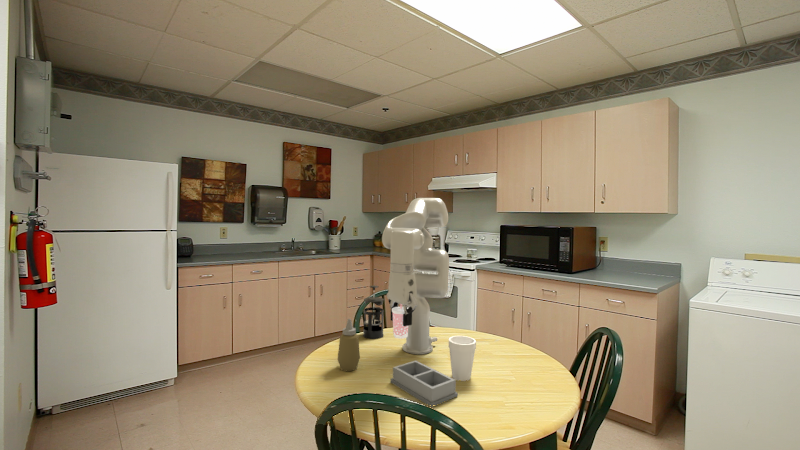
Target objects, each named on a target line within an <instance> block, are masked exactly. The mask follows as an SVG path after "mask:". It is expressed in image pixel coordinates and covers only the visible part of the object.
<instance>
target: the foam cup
mask: <svg viewBox="0 0 800 450" xmlns="http://www.w3.org/2000/svg"><path fill="white" fill-rule="evenodd" d="M448 348H449V349H448V350H449V357H450V368H451V375H452V376H451V378H453V379H455V380H456V381H459V380H461V381H460V382H467V381H470V379H471V378H472V370H473V364H474V359H475V353H476V352H475V351H476V348H477V341H476V339H475V338H473V337H470V336H467V335H453V336H450V337H449V338H448ZM466 380H467V381H466Z"/></svg>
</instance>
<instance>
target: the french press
mask: <svg viewBox="0 0 800 450" xmlns="http://www.w3.org/2000/svg"><path fill="white" fill-rule="evenodd" d="M369 288H372V291H376V289H377V288H379V286H378V285H369ZM384 300H385V299H384V298H383V297H377V296H369V297H365V298H363V301H364V305H368V303H373V306H371V307H366V308H364V309H363V334H362V337H363V338H365V339H369V340H378V339H381V338H384V308H381V307H379V306H382V305H384V304H383V303H384ZM375 305H376V306H375ZM366 315H367V318H366Z"/></svg>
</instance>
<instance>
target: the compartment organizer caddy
mask: <svg viewBox="0 0 800 450" xmlns="http://www.w3.org/2000/svg"><path fill="white" fill-rule="evenodd" d="M456 381H457V380H456V379H454V378H453V377H452V376H451V377H450V376H449V375H446V374H444V373H442V372H440V371H438V370H436V369H434V368H432V367H431V366H428V365H426V364H424V363H421V362H420V361H418V360H412V361H409V362H406V363H403V364H399V365H396V366H393V367H392V378H390V383H391V384H392V385H394V386H395V387H398V388H399V389H400V390H402V391H404V392H405V393H408V394H409V395H411V396H412V397H413V398H416V399H417V400H419V401H420V400H421V401H420V402H422V403H424V404H425V403H426V405H427V404H428V405H427V406H429V405H431V406H429V407H430V408H433V407H432V406H433V405H436V406H438V405H437V404H439V405H441V404H443V403H442V402H444V401H446V402H448V401H450V400H449V399H451V400H453V399H455V398H454V397H456V398H458V397H457V396H459V395H458V393H459V392H457V391H456V387H457V386H456V384H457V382H456ZM452 398H453V399H452ZM447 400H448V401H447ZM440 403H441V404H440ZM444 403H445V402H444Z"/></svg>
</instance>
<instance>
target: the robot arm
mask: <svg viewBox="0 0 800 450" xmlns="http://www.w3.org/2000/svg"><path fill="white" fill-rule="evenodd" d="M448 213H449V212H448V209H447V206H446V203H445V202H444V201H443V199H441V198H439V197H417V198H415V199H412V201H411V202H410V203H409V205H408V207H407V209H406V211H405V213H403V214H400V215H398V216H396V217H393V218H392V219H390V220H389V221H388V222H387V223H386V225H385V228H384V230H383V232H382V235H381V242H382V244H383V246H384V248H386V249H388V250H390V264H389V265H390V269H389V271H390V272H389V278H388V285H387V286H388V292H387V293H386V298H387V300H388V303H389V309H390V321H392V322H393V312H392V308H394V307H399V305H400V304H402V307H403V308H404V313H405V314H403V326H408V337H407V338H405V340H406V341H405V342H404V343H403V344H402V351H404V352H405V353H408V354H411V355H425V354H430V353H431V352H432V351H433V349H434V347H433V345H432V343H435V342H437V341H438V337H437V336H432V337H431V336H430V322H431V321H430V319H431V318H430V316H431V313H430V312H431V307H430V304H429V303H428V301H427V299H426V298H432V299H433V298H435V299H444V298H445V297H446V296H447V295H448V290H449V274H450V273H449V271H450V257H449V256H450V255H449V253H448V252H447V251H446V250H444V249H435V248H433V244H434V243H433V242H434V239H433V236H432V235H431V233H430V232H429V231H428V230H427V228H445V227H447V225H448V222H449V214H448ZM414 271H418V272H417V273H416V272H415V273H414ZM419 272H420V273H419ZM422 272H426V273H422ZM427 272H429V273H427ZM430 272H431V273H430ZM407 307H408V309H407Z"/></svg>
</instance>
